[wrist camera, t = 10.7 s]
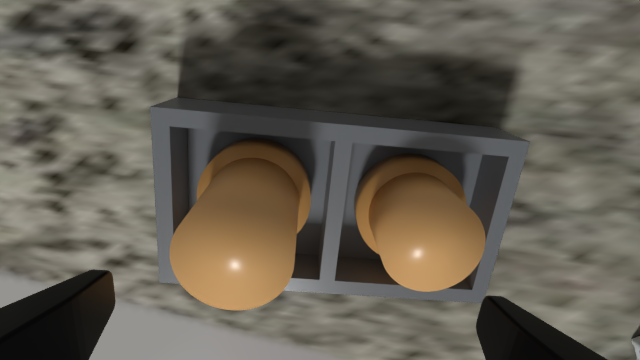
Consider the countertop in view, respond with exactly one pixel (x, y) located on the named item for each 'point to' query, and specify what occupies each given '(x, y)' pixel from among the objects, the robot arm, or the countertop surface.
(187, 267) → the tan pear-shaped knob
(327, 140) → the gray divided tray
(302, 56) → the countertop surface
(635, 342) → the syrup box
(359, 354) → the countertop surface
